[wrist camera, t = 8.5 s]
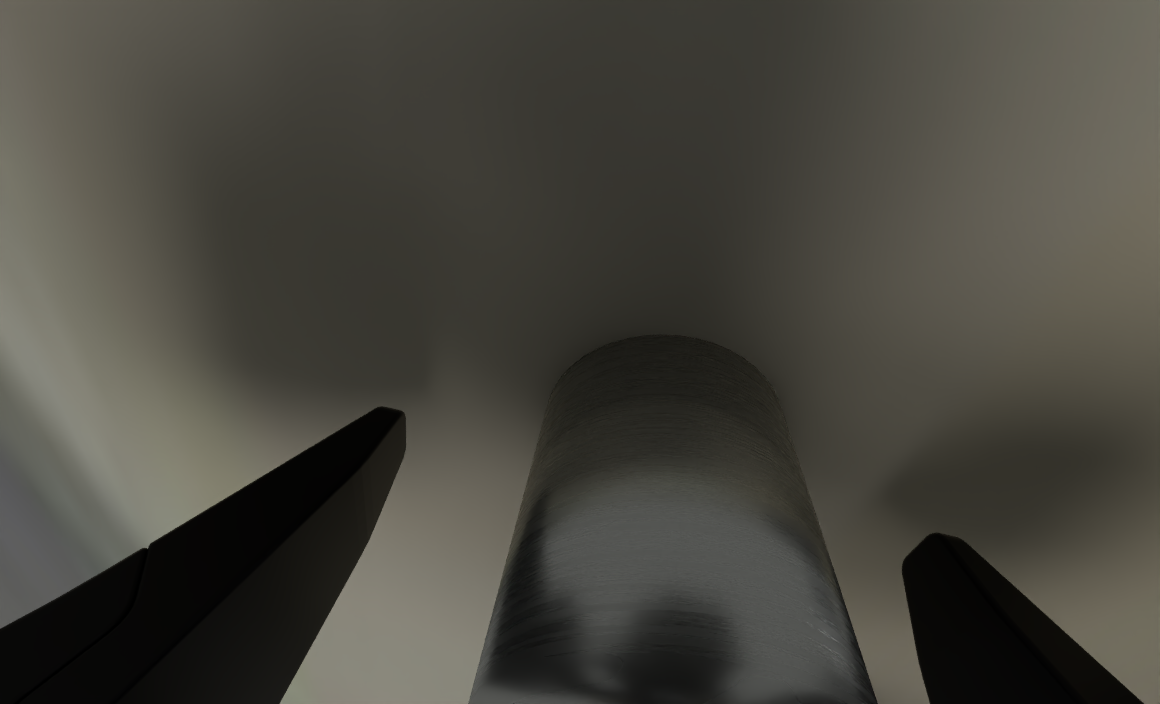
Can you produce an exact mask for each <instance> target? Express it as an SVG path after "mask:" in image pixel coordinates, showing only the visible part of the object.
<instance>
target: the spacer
mask: <svg viewBox="0 0 1160 704" xmlns="http://www.w3.org/2000/svg"><path fill="white" fill-rule="evenodd" d="M468 704H878V703H877V700H876V697H875V694H874V691H873V688H872V685H871V682H870V679H869V676H868V673H867V670H866V667H865V663H864V660H863V657H862V654H861V651H860V648H859V645H858V642H857V639H856V636H855V633H854V630H853V627H852V624H851V621H850V618H849V615H848V611H847V608H846V605H845V602H844V599H843V596H842V593H841V590H840V587H839V584H838V581H837V578H836V575H835V572H834V569H833V566H832V562H831V559H830V556H829V553H828V550H827V547H826V544H825V541H824V538H823V535H822V532H821V529H820V526H819V523H818V520H817V517H816V513H815V510H814V507H813V504H812V501H811V498H810V495H809V492H808V489H807V486H806V483H805V480H804V477H803V474H802V471H801V468H800V464H799V461H798V458H797V455H796V452H795V449H794V446H793V443H792V440H791V437H790V434H789V431H788V428H787V425H786V422H785V419H784V415H783V412H782V409H781V406H780V403H779V400H778V398H777V396H776V394H775V392H774V390H773V388H772V387H771V385H770V384H769V382H768V381H767V379H766V378H765V377H764V376H763V375H762V374H761V373H760V372H759V371H758V369H757V368H756V367H754V366H753V365H752V364H751V363H749V362H748V361H747V360H745V359H744V358H743V357H741V356H739V355H737V354H736V353H734V352H732V351H731V350H729V349H726V348H724V347H721V346H719V345H717V344H714V343H711V342H708V341H704V340H701V339H697V338H691V337H685V336H677V335H646V336H639V337H633V338H627V339H624V340H620V341H617V342H613V343H610V344H608V345H606V346H603V347H601V348H598V349H596V350H595V351H593V352H591V353H589V354H588V355H586V356H584V357H583V358H581V359H580V360H579V361H578V362H576V363H575V364H574V365H572V366H571V367H570V368H569V369H568V370H567V371H566V372H565V374H564V375H563V376H562V377H561V379H560V380H559V381H558V383H557V384H556V386H555V388H554V390H553V392H552V394H551V396H550V399H549V402H548V406H547V409H546V413H545V417H544V420H543V424H542V428H541V432H540V436H539V439H538V443H537V447H536V451H535V454H534V458H533V462H532V466H531V469H530V473H529V477H528V481H527V485H526V488H525V492H524V496H523V500H522V503H521V507H520V511H519V515H518V518H517V522H516V526H515V530H514V534H513V537H512V541H511V545H510V549H509V552H508V556H507V560H506V564H505V568H504V571H503V575H502V579H501V583H500V586H499V590H498V594H497V598H496V601H495V605H494V609H493V613H492V617H491V620H490V624H489V628H488V632H487V635H486V639H485V643H484V647H483V650H482V654H481V658H480V662H479V666H478V669H477V673H476V677H475V681H474V684H473V688H472V692H471V696H470V699H469V703H468Z"/></svg>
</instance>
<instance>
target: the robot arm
mask: <svg viewBox="0 0 1160 704" xmlns="http://www.w3.org/2000/svg"><path fill="white" fill-rule="evenodd" d="M405 450H406V417H405V414H404V412H403V411H401V410H397V409H392V408H388V407H383V406H381V407H377V408H375V409H373V410H372V411H370V412H368V413H367V414H365V415H363V416H362V417H360V418H358V419H357V420H355V421H353V422H352V423H350V424H348V425H347V426H345V427H343V428H342V429H340V430H338V431H337V432H335V433H333V434H332V435H330V436H328V437H327V438H325V439H323V440H322V441H320V442H318V443H317V444H315V445H313V446H312V447H310V448H308V449H307V450H305V451H303V452H302V453H300V454H298V455H297V456H295V457H293V458H292V459H290V460H288V461H287V462H285V463H284V464H282V465H280V466H279V467H277V468H275V469H274V470H272V471H270V472H269V473H267V474H265V475H264V476H262V477H260V478H259V479H257V480H255V481H254V482H252V483H250V484H249V485H247V486H245V487H244V488H242V489H240V490H239V491H237V492H235V493H234V494H232V495H230V496H229V497H227V498H225V499H224V500H222V501H220V502H219V503H217V504H215V505H214V506H212V507H210V508H209V509H207V510H205V511H204V512H202V513H200V514H199V515H197V516H195V517H194V518H192V519H190V520H189V521H187V522H185V523H184V524H182V525H180V526H179V527H177V528H175V529H174V530H172V531H170V532H169V533H167V534H165V535H164V536H162V537H160V538H159V539H157V540H155V541H154V542H152V543H151V544H150V545H149V547H148V549H147V548H142V549H140V550H138V551H137V552H135V553H133V554H132V555H130V556H128V557H127V558H125V559H123V560H122V561H120V562H118V563H117V564H115V565H113V566H112V567H110V568H108V569H107V570H105V571H103V572H101V573H100V574H98V575H96V576H94V577H93V578H91V579H89V580H88V581H86V582H84V583H82V584H81V585H79V586H77V587H75V588H74V589H72V590H70V591H69V592H67V593H65V594H63V595H62V596H60V597H58V598H56V599H55V600H53V601H51V602H49V603H47V604H45V605H44V606H42V607H40V608H38V609H36V610H34V611H32V612H31V613H29V614H27V615H25V616H23V617H21V618H19V619H18V620H16V621H14V622H12V623H10V624H8V625H6V626H5V627H3V628H1V629H0V704H280V702H281V700H282V698H283V696H284V694H285V693H286V691H287V689H288V687H289V685H290V684H291V682H292V680H293V678H294V676H295V675H296V673H297V671H298V669H299V667H300V665H301V664H302V662H303V660H304V658H305V656H306V655H307V653H308V651H309V649H310V647H311V646H312V644H313V642H314V640H315V638H316V636H317V635H318V633H319V631H320V629H321V627H322V626H323V624H324V622H325V620H326V618H327V617H328V615H329V613H330V611H331V609H332V607H333V606H334V604H335V602H336V600H337V598H338V597H339V595H340V593H341V591H342V589H343V588H344V586H345V584H346V582H347V580H348V579H349V577H350V575H351V573H352V571H353V569H354V568H355V566H356V564H357V562H358V560H359V559H360V557H361V555H362V553H363V551H364V549H365V547H366V545H367V543H368V541H369V539H370V537H371V534H372V532H373V530H374V528H375V525H376V523H377V520H378V518H379V515H380V513H381V511H382V508H383V506H384V503H385V501H386V499H387V496H388V494H389V491H390V489H391V487H392V484H393V482H394V479H395V477H396V474H397V472H398V470H399V467H400V465H401V462H402V460H403V457H404V454H405ZM902 575H903V581H904V586H905V592H906V597H907V602H908V608H909V613H910V619H911V624H912V629H913V635H914V640H915V646H916V651H917V656H918V660H919V665H920V669H921V673H922V677H923V680H924V684H925V688H926V691H927V695H928V698H929V702H930V704H1144V703H1143V702H1142V701H1140V700H1139V699H1138V698H1137V697H1136V696H1135V695H1134V694H1133V693H1132V692H1131V691H1129V690H1128V689H1127V688H1126V687H1125V686H1124V685H1123V684H1122V683H1121V682H1119V681H1118V680H1117V679H1116V678H1115V677H1114V676H1113V675H1112V674H1111V673H1110V672H1108V671H1107V670H1106V669H1105V668H1104V667H1103V666H1102V665H1101V664H1100V663H1098V662H1097V661H1096V660H1095V659H1094V658H1093V657H1092V656H1091V655H1090V654H1089V653H1087V652H1086V651H1085V650H1084V649H1083V648H1082V647H1081V646H1080V645H1079V644H1078V643H1076V642H1075V641H1074V640H1073V639H1072V638H1071V637H1070V636H1069V635H1068V634H1066V633H1065V632H1064V631H1063V630H1062V629H1061V628H1060V627H1059V626H1058V625H1057V624H1055V623H1054V622H1053V621H1052V620H1051V619H1050V618H1049V617H1048V616H1047V615H1045V614H1044V613H1043V612H1042V611H1041V610H1040V609H1039V608H1038V607H1037V606H1036V605H1034V604H1033V603H1032V602H1031V601H1030V600H1029V599H1028V598H1027V597H1026V596H1024V595H1023V594H1022V593H1021V592H1020V591H1019V590H1018V589H1017V588H1016V587H1015V586H1013V585H1012V584H1011V583H1010V582H1009V581H1008V580H1007V579H1006V578H1005V577H1003V576H1002V575H1001V574H1000V573H999V572H998V571H997V570H996V569H995V568H994V567H992V566H991V565H990V564H989V563H988V562H987V561H986V560H985V559H984V558H983V557H981V556H980V555H979V554H978V553H977V552H976V551H975V550H974V549H973V548H971V547H970V546H969V545H968V544H967V543H966V542H965V541H963V540H962V539H960V538H957V537H954V536H950V535H945V534H941V533H932V534H929V535H928V536H927V537H926V538H925V539H924V540H923V541H922V542H921V543H919V544H918V545H917V546H916V547H915V548H914V549H913V550H912V551H911V552H910V553H909V554H908V555H907V556H906V558H905V559H904V561H903V564H902Z"/></svg>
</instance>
